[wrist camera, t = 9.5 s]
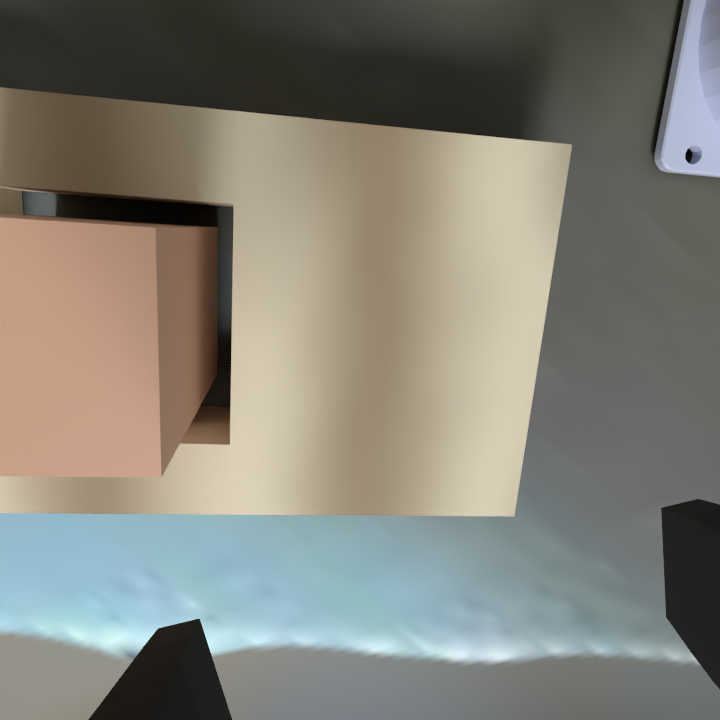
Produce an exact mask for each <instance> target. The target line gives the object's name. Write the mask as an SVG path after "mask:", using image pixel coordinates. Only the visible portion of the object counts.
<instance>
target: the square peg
mask: <svg viewBox="0 0 720 720" xmlns="http://www.w3.org/2000/svg"><path fill="white" fill-rule="evenodd" d="M217 342H218V227H206V226H191V225H176V224H161V223H147V222H132V221H117V220H102V219H87V218H72V217H57V216H35V215H12V214H0V476H31V477H141V478H161V477H162V476H163V474H164V472H165V470H166V468H167V466H168V465H169V463H170V461H171V459H172V457H173V455H174V453H175V452H176V450H177V448H178V446H179V444H180V442H181V441H182V439H183V437H184V435H185V433H186V431H187V429H188V428H189V426H190V424H191V422H192V420H193V418H194V417H195V415H196V413H197V411H198V409H199V407H200V405H201V404H202V402H203V400H204V398H205V396H206V394H207V393H208V391H209V389H210V387H211V385H212V383H213V382H214V380H215V378H216V376H217Z"/></svg>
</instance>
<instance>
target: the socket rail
mask: <svg viewBox="0 0 720 720" xmlns="http://www.w3.org/2000/svg"><path fill="white" fill-rule="evenodd" d="M571 148H572V145H570V144H560V143H550V142H540V141H530V140H520V139H510V138H500V137H490V136H480V135H470V134H460V133H450V132H440V131H430V130H420V129H410V128H400V127H390V126H380V125H370V124H360V123H351V122H341V121H331V120H321V119H311V118H301V117H291V116H281V115H271V114H261V113H251V112H241V111H231V110H221V109H211V108H201V107H191V106H181V105H171V104H161V103H151V102H141V101H131V100H121V99H111V98H101V97H91V96H82V95H72V94H62V93H52V92H42V91H32V90H22V89H12V88H2V87H0V214H12V215H23V201H22V191H30V192H43V193H56V194H69V195H81V196H94V197H107V198H120V199H133V200H146V201H158V202H171V203H184V204H197V205H210V206H223V207H234V216H233V279H232V342H231V406H230V407H229V406H200V407H199V409H198V411H197V413H196V415H195V417H194V418H193V420H192V422H191V424H190V426H189V428H188V429H187V431H186V433H185V435H184V437H183V439H182V441H181V442H180V444H179V446H178V448H177V450H176V452H175V453H174V455H173V457H172V459H171V461H170V463H169V465H168V466H167V468H166V470H165V472H164V474H163V476H162V477H161V478H141V477H31V476H0V513H81V514H235V515H390V516H514V515H515V508H516V502H517V495H518V489H519V483H520V476H521V470H522V463H523V457H524V450H525V444H526V438H527V431H528V425H529V418H530V412H531V405H532V399H533V393H534V386H535V380H536V373H537V367H538V360H539V354H540V348H541V341H542V335H543V328H544V322H545V315H546V309H547V303H548V296H549V290H550V283H551V277H552V270H553V264H554V258H555V251H556V245H557V238H558V232H559V225H560V219H561V213H562V206H563V200H564V193H565V187H566V180H567V174H568V168H569V161H570V155H571Z"/></svg>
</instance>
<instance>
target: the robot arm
mask: <svg viewBox="0 0 720 720" xmlns="http://www.w3.org/2000/svg"><path fill="white" fill-rule="evenodd" d="M688 148H689V149H690V150H691V152H692V159H691V161H690V163H688V162H687V161H686V159H685V153H686V151H687V149H688ZM655 162H656V165H657V167H658V168H659V169H660V170H661V171H664V172H668V173H679V174H689V175H700V176H710V177H720V0H684V3H683V8H682V13H681V18H680V24H679V29H678V34H677V39H676V45H675V50H674V55H673V60H672V66H671V71H670V76H669V81H668V87H667V92H666V97H665V102H664V108H663V113H662V118H661V123H660V129H659V134H658V139H657V144H656V150H655ZM661 510H662V533H663V555H664V577H665V599H666V617H667V619H668V620H669V622H670V623H671V624H672V626H673V627H674V629H675V630H676V631H677V633H678V634H679V636H680V637H681V639H682V640H683V641H684V643H685V644H686V646H687V647H688V648H689V650H690V651H691V653H692V654H693V655H694V657H695V658H696V659H697V661H698V662H699V663H700V665H701V666H702V667H703V669H704V670H705V671H706V672H707V673H708V675H709V677H710V678H711V679H712V681H713V682H714V683H715V684H716V685H717V686H718V688H719V689H720V505H718V504H715V503H711V502H708V501H704V500H700V499H697V500H692V501H688V502H684V503H680V504H676V505H672V506H667V507H663V508H661ZM89 720H232V718H231V715H230V712H229V709H228V706H227V703H226V699H225V697H224V694H223V690H222V687H221V684H220V681H219V678H218V675H217V672H216V669H215V665H214V662H213V659H212V656H211V653H210V650H209V647H208V644H207V640H206V637H205V634H204V631H203V628H202V625H201V622H200V619H196V620H192V621H188V622H184V623H179V624H175V625H171V626H167V627H163V628H159V629H158V630H157V631H156V632H155V633H154V634H153V636H152V637H151V638H150V639H149V641H148V642H147V643H146V645H145V646H144V647H143V648H142V650H141V651H140V652H139V654H138V655H137V656H136V658H135V659H134V660H133V662H132V663H131V664H130V666H129V667H128V668H127V670H126V671H125V672H124V674H123V675H122V676H121V678H120V679H119V680H118V682H117V683H116V684H115V686H114V687H113V688H112V690H111V691H110V692H109V693H108V695H107V696H106V697H105V699H104V700H103V702H102V703H101V704H100V705H99V707H98V708H97V709H96V711H95V712H94V713H93V715H92V716H91V717H90V718H89Z"/></svg>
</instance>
